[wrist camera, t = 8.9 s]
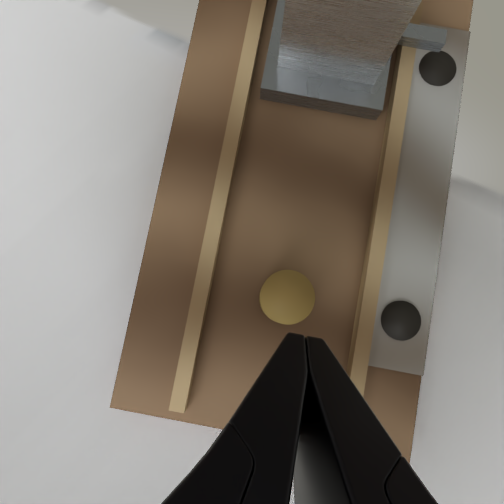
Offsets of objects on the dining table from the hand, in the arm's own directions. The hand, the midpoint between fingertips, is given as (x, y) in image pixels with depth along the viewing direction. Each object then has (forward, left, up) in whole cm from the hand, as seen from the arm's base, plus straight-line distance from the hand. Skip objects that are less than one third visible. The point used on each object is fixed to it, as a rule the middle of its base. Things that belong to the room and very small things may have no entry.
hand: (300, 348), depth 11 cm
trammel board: (+5, -5, -9) cm, 11 cm away
